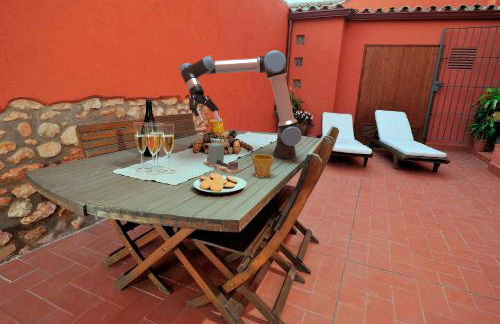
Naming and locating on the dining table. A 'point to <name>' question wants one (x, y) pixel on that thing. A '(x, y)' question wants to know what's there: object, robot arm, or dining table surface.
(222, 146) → the marker sleeve
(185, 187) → the dining table surface
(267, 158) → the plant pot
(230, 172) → the cord board
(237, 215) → the dining table surface
